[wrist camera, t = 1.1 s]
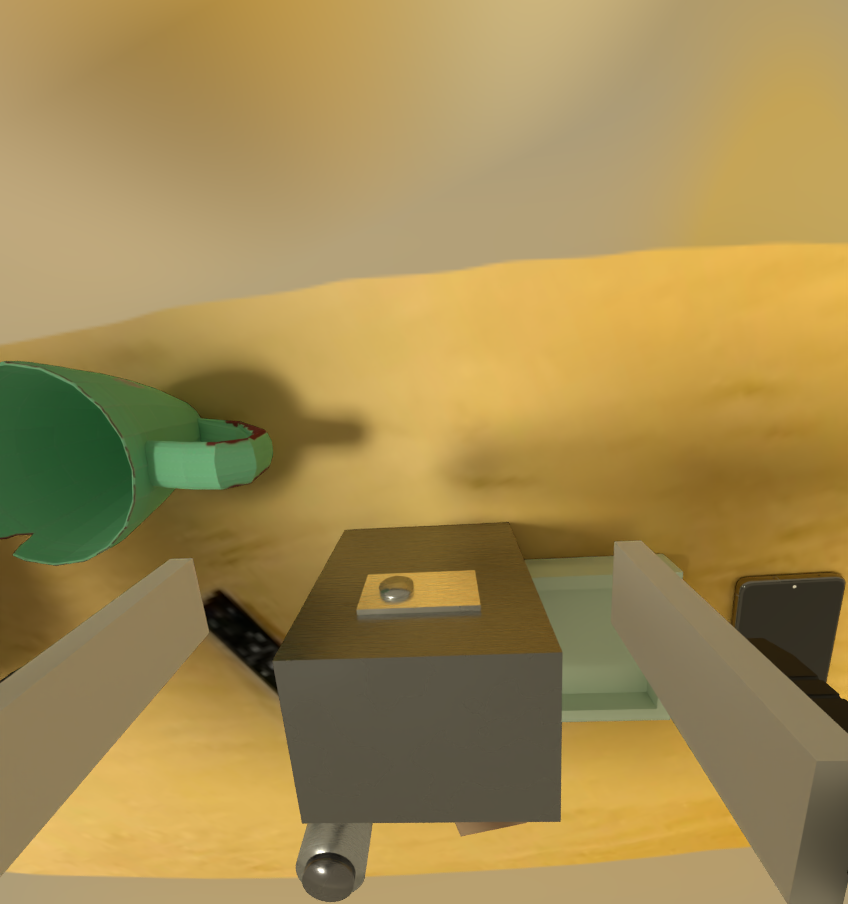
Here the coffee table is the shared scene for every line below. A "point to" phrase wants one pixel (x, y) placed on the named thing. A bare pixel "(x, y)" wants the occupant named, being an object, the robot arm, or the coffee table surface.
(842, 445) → the coffee table surface
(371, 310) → the coffee table surface
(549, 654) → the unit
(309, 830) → the cartridge
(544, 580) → the tray
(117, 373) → the coffee table surface
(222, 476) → the mug
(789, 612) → the smartphone
